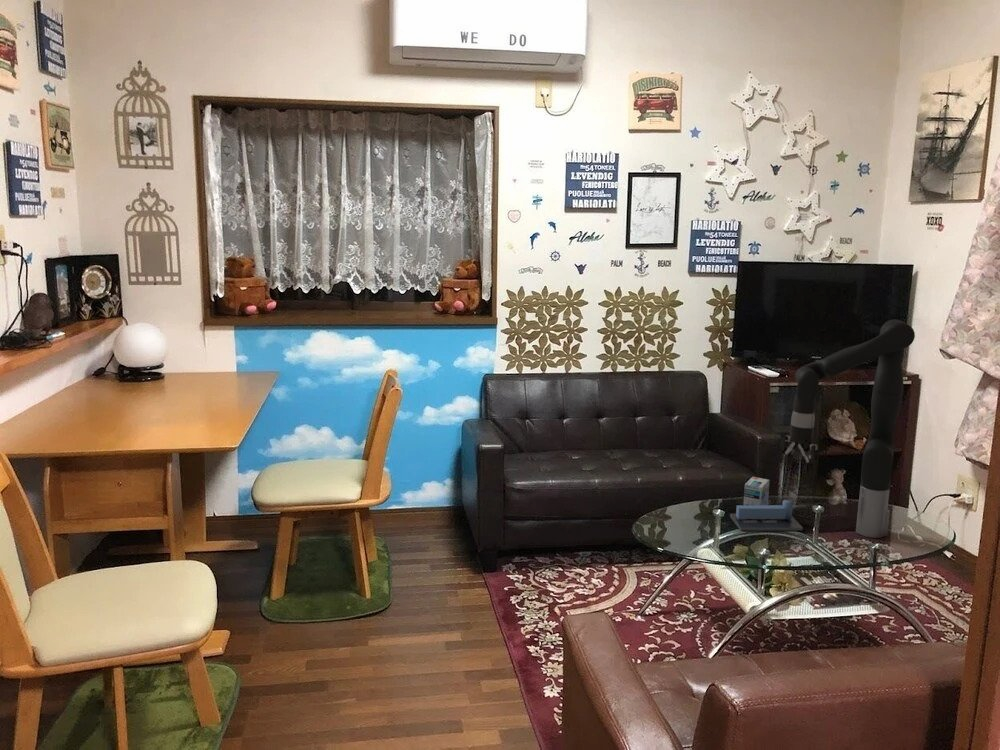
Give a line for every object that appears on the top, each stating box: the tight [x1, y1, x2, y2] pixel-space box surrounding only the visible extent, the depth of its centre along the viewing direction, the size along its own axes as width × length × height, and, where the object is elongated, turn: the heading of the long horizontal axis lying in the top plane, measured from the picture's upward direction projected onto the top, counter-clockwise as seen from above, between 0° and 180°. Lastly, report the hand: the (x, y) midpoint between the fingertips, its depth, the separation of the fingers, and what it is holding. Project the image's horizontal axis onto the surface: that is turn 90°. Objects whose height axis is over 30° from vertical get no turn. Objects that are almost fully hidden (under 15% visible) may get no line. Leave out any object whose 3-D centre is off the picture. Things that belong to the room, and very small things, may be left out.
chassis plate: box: [729, 513, 804, 532], centre depth 288 cm, size 22×13×2 cm, turn 90°
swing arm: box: [735, 499, 794, 519], centre depth 288 cm, size 20×4×6 cm, turn 90°
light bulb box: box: [743, 476, 770, 505], centre depth 301 cm, size 11×7×11 cm, turn 147°
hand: (798, 468), depth 280 cm, fingers open, 8 cm apart
